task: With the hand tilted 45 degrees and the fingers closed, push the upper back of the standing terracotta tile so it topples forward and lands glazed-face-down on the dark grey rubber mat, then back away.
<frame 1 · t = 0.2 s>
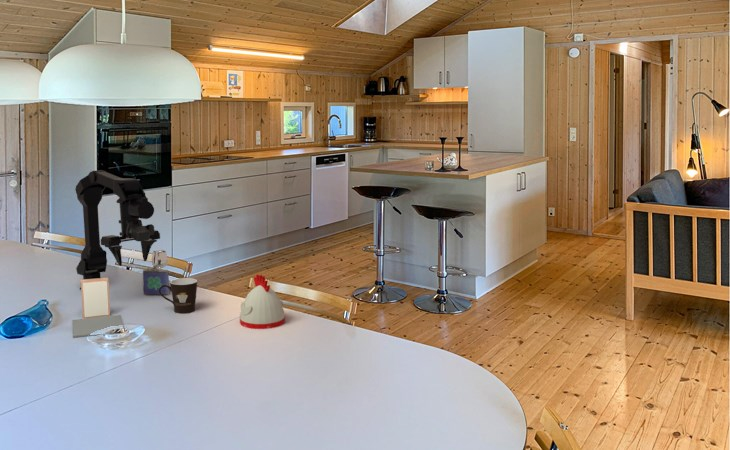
hand: (132, 263, 214), 14 cm above the table, tool pointing down, fingers open, 9 cm apart
coffee mug: (180, 310, 211), on the table
mat: (98, 326, 194), on the table
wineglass: (160, 282, 246), on the table
tile: (96, 316, 204), on the table
flask: (156, 295, 229), on the table
kitchen timer: (262, 322, 201), on the table
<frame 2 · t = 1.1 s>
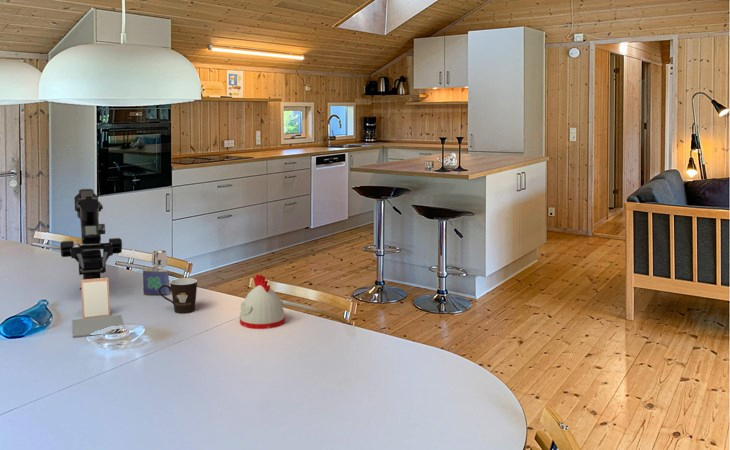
hand: (93, 268, 209), 14 cm above the table, tool tilted 45°, fingers open, 6 cm apart
nothing on the table moved.
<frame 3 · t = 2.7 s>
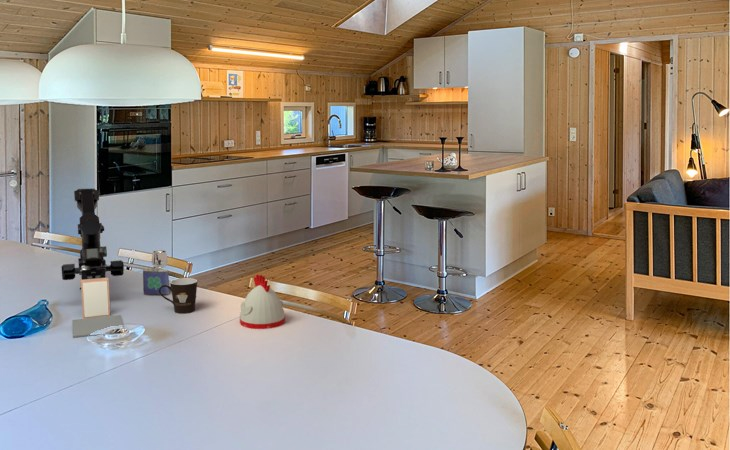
hand: (94, 292, 207), 7 cm above the table, tool tilted 45°, fingers closed
nothing on the table moved.
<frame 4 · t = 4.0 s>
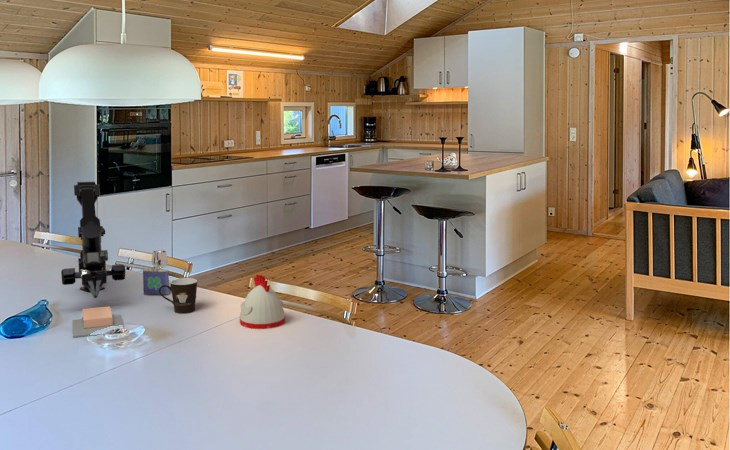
hand: (95, 297, 201), 7 cm above the table, tool tilted 45°, fingers closed
tile: (96, 311, 202), point 2 cm above the table, tilted 90°, touching mat
everything else where it was.
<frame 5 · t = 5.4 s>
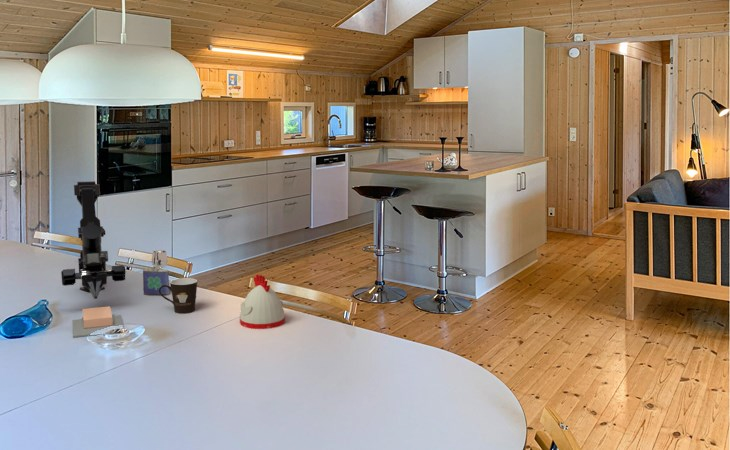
hand: (95, 298, 201), 7 cm above the table, tool tilted 45°, fingers closed
nothing on the table moved.
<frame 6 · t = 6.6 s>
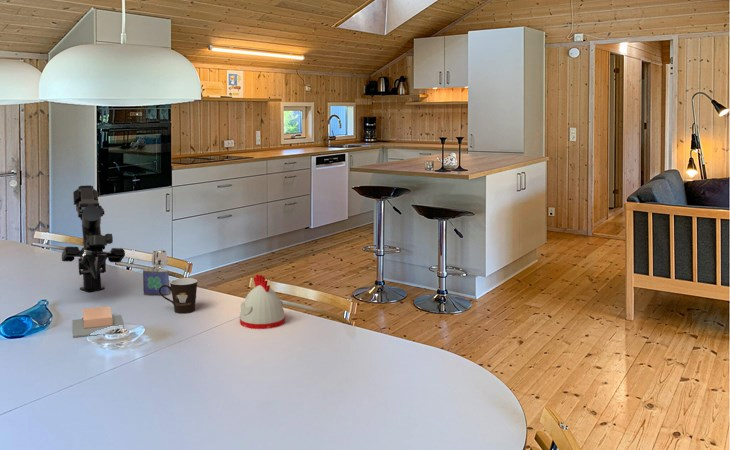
hand: (96, 277, 209), 11 cm above the table, tool tilted 40°, fingers closed
nothing on the table moved.
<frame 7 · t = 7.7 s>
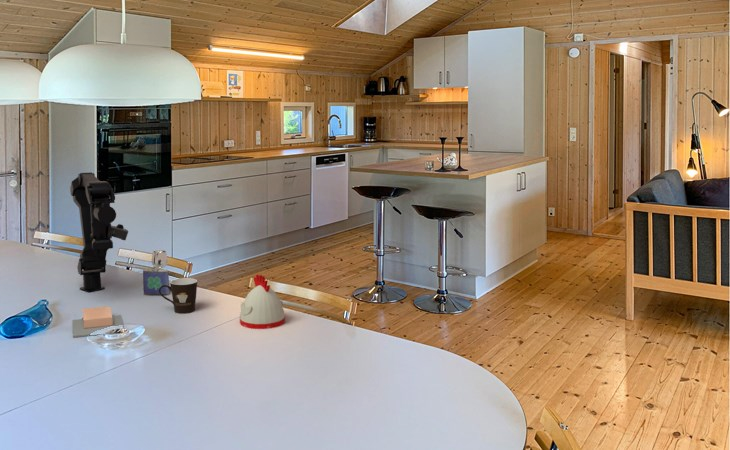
hand: (102, 265, 217), 13 cm above the table, tool pointing down, fingers closed
nothing on the table moved.
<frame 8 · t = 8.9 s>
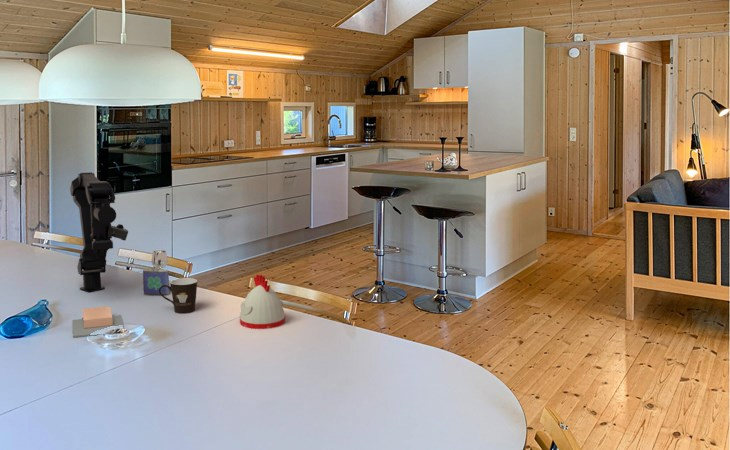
hand: (102, 265, 217), 13 cm above the table, tool pointing down, fingers closed
nothing on the table moved.
at the end: tile tilted 90°; tile touching mat; tile inside the target area (3.5 cm from its centre), point 1.9 cm above the table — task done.
